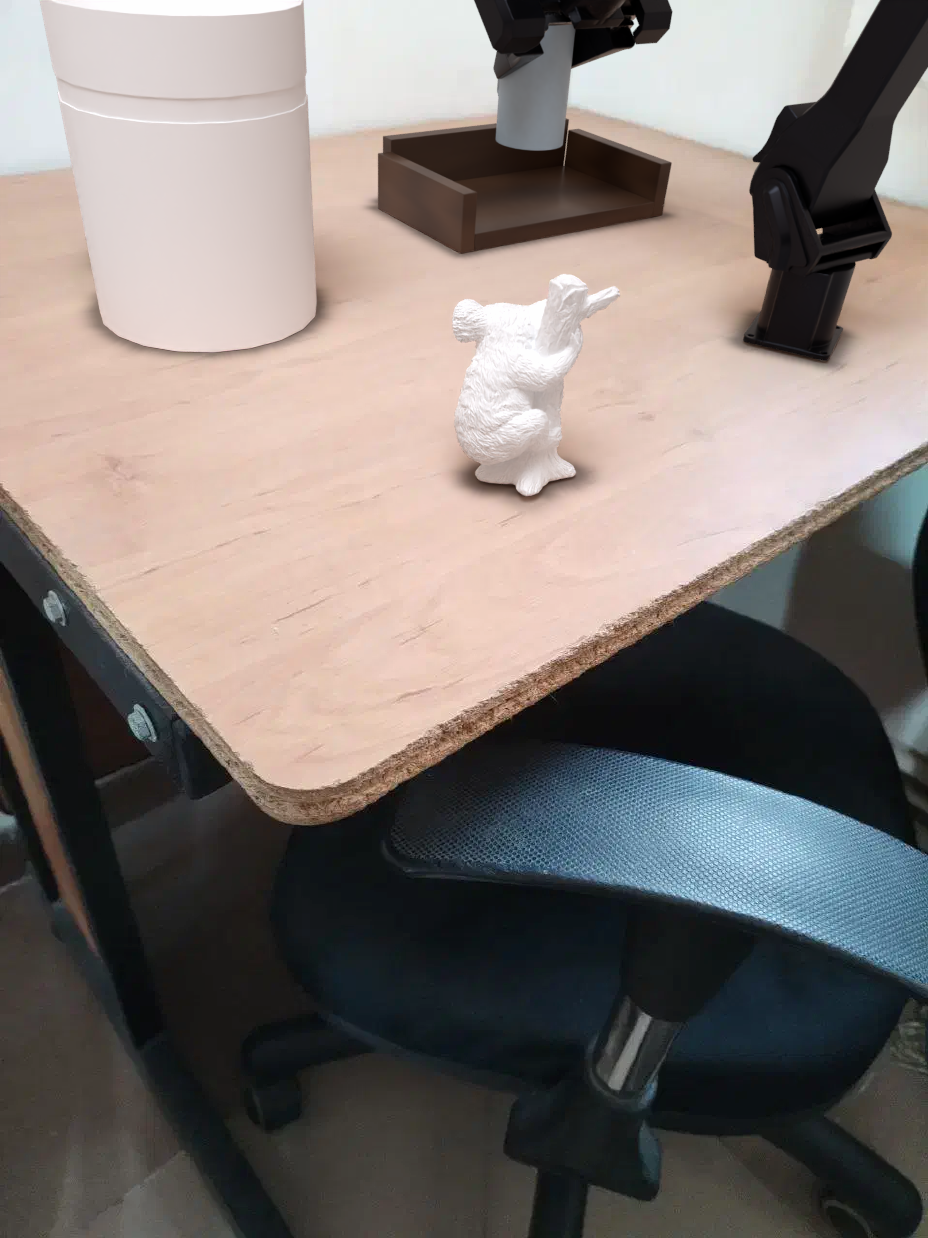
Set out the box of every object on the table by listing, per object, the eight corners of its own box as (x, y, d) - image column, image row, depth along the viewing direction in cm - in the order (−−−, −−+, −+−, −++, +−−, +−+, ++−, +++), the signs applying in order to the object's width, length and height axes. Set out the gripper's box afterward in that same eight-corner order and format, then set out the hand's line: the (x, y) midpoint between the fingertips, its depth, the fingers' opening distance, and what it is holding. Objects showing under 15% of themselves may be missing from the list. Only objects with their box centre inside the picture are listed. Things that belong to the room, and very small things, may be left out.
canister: (352, 329, 71) (346, 12, 58) (135, 368, 64) (74, 19, 51) (269, 258, 81) (249, -25, 68) (75, 285, 74) (11, -24, 61)
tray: (662, 215, 96) (674, 150, 92) (460, 253, 84) (464, 181, 80) (563, 174, 106) (570, 114, 102) (369, 203, 94) (369, 137, 90)
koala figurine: (596, 461, 58) (628, 261, 50) (579, 520, 53) (613, 308, 45) (460, 437, 59) (472, 240, 51) (432, 493, 54) (440, 283, 46)
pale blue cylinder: (576, 146, 90) (592, 8, 83) (523, 153, 87) (535, 11, 80) (522, 126, 95) (533, -5, 88) (470, 132, 92) (477, -4, 85)
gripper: (674, -156, 78) (570, -14, 92) (492, -168, 69) (407, -9, 83) (724, -27, 78) (613, 95, 92) (549, -23, 70) (455, 111, 83)
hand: (525, 71), depth 88 cm, fingers closed on pale blue cylinder, 6 cm apart
